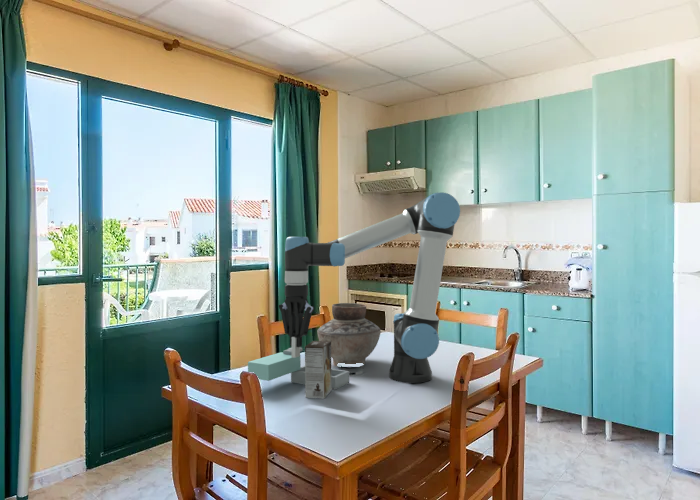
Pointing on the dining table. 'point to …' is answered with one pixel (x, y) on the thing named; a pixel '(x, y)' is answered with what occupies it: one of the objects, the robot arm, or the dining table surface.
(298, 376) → the grey box
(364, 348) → the ceramic pot
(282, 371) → the lid
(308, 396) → the coffee box
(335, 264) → the robot arm
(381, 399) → the dining table surface
